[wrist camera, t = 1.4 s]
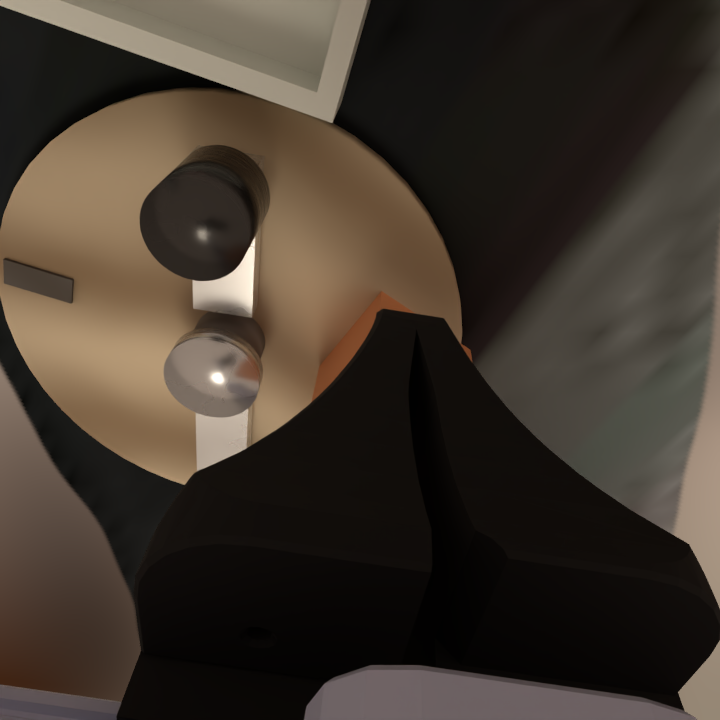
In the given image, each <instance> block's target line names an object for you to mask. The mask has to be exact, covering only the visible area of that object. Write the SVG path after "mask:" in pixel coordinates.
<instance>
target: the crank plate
mask: <svg viewBox="0 0 720 720" xmlns="http://www.w3.org/2000/svg"><path fill="white" fill-rule="evenodd" d="M198 145H200V146H209V145H225V146H229V147H232V148H235V149H237V150H239V151H241V152H243V153H249V154H256V155H262V156H265V157H264V175H265V177H266V180H267V182H268V186H269V190H270V206H269V210H268V213H267V215H266V217H265V219H264V221H263V223H262V225H261V241H260V263H259V284H258V305H257V307H256V309H255V312H254V314H253V316H252V318H250V317H244V316H237V315H231V314H224V313H218V312H212V311H205V310H199V309H193V281H192V280H190V279H186V278H183V277H181V276H178V275H176V274H174V273H173V272H171V271H169V270H168V269H166V268H165V267H164V266H162V265H161V264H160V263H159V262H158V261H157V260H156V259H155V258H154V256H153V255H152V254H151V252H150V251H149V250H148V248H147V246H146V244H145V242H144V240H143V237H142V234H141V230H140V211H141V207H142V204H143V202H144V200H145V198H146V197H147V195H148V194H149V193H150V192H151V191H152V190H153V189H154V188H155V187H156V186H157V185H158V184H159V183H160V182H161V181H162V180H163V179H164V178H165V177H166V176H167V175H168V174H170V173H171V172H172V171H173V170H174V169H175V168H176V167H177V166H178V165H179V164H180V163H181V162H182V161H183V160H184V159H185V158H186V157H188V156H189V155H190V153H191V152H192V151H193V150H194V149H195V148H196V147H197V146H198ZM381 291H382V292H384V293H385V294H387V295H388V296H390V297H391V298H393V299H394V300H396V301H397V302H399V303H400V304H402V305H404V306H405V307H407V308H408V309H410V310H411V311H413V312H414V313H416V314H421V315H428V316H434V317H441V318H444V319H445V320H446V322H447V323H448V325H449V326H450V328H451V330H452V331H453V333H454V335H455V336H456V338H457V339H458V341H459V343H461V340H462V318H461V303H460V296H459V290H458V285H457V281H456V276H455V272H454V267H453V264H452V261H451V258H450V256H449V253H448V250H447V248H446V245H445V242H444V240H443V237H442V235H441V234H440V232H439V230H438V228H437V226H436V224H435V223H434V221H433V219H432V217H431V215H430V213H429V212H428V210H427V209H426V207H425V206H424V205H423V203H422V202H421V200H420V199H419V198H418V196H417V195H416V194H415V192H414V191H413V190H412V188H411V187H410V186H409V184H408V183H407V182H406V181H405V180H404V179H403V178H402V177H401V176H400V175H399V174H398V173H397V172H396V171H395V170H394V169H393V168H392V167H391V166H390V165H389V164H388V163H387V162H386V160H385V159H384V158H382V157H381V156H380V155H378V154H377V153H376V152H375V151H373V150H372V149H371V148H370V147H368V146H367V145H366V144H364V143H363V142H362V141H361V140H359V139H358V138H357V137H356V136H354V135H352V134H351V133H349V132H347V131H346V130H344V129H342V128H341V127H339V126H337V125H336V124H334V123H330V122H328V121H325V120H322V119H319V118H316V117H313V116H311V115H308V114H305V113H302V112H299V111H296V110H294V109H291V108H288V107H285V106H282V105H280V104H277V103H274V102H271V101H268V100H265V99H263V98H260V97H257V96H254V95H251V94H248V93H246V92H243V91H239V90H232V89H224V88H217V87H200V88H175V89H168V90H161V91H155V92H148V93H144V94H141V95H138V96H135V97H131V98H128V99H125V100H122V101H119V102H116V103H113V104H111V105H109V106H107V107H105V108H104V109H102V110H100V111H98V112H96V113H94V114H92V115H90V116H88V117H86V118H84V119H82V120H80V121H78V122H76V123H75V124H73V125H72V126H71V127H69V128H68V129H67V130H65V131H64V132H63V133H61V134H60V135H59V136H57V137H56V138H55V139H53V140H52V141H51V142H49V144H48V145H47V146H46V147H45V148H44V149H43V150H42V151H41V152H40V153H39V154H38V155H37V156H36V158H35V159H34V160H33V161H32V162H31V163H30V164H29V166H28V167H27V169H26V170H25V172H24V173H23V175H22V177H21V178H20V180H19V181H18V183H17V184H16V186H15V188H14V190H13V192H12V195H11V197H10V200H9V202H8V205H7V207H6V210H5V212H4V215H3V220H2V224H1V229H0V297H1V301H2V305H3V309H4V313H5V317H6V320H7V323H8V325H9V328H10V330H11V333H12V335H13V338H14V340H15V343H16V345H17V347H18V349H19V351H20V353H21V354H22V356H23V358H24V360H25V362H26V363H27V365H28V367H29V369H30V370H31V372H32V373H33V374H34V376H35V377H36V379H37V380H38V382H39V383H40V384H41V386H42V387H43V389H44V390H45V391H46V392H47V393H48V395H49V396H50V397H51V398H52V399H53V400H54V401H55V403H56V404H57V405H58V406H59V407H60V408H61V409H62V411H64V412H65V413H66V414H67V415H68V416H69V417H70V418H71V419H72V420H73V421H74V422H75V423H76V424H77V425H78V426H80V427H81V428H82V429H83V430H84V431H86V432H87V433H88V434H89V435H91V436H92V437H93V438H95V439H96V440H97V441H99V442H100V443H101V444H102V445H104V446H106V447H107V448H109V449H110V450H112V451H113V452H115V453H116V454H118V455H120V456H121V457H123V458H124V459H126V460H128V461H130V462H132V463H134V464H136V465H138V466H140V467H142V468H143V469H145V470H147V471H150V472H152V473H155V474H157V475H159V476H162V477H164V478H167V479H169V480H171V481H175V482H178V483H181V484H184V485H185V484H186V483H187V481H188V480H189V479H190V477H191V476H192V475H193V474H194V473H195V472H196V471H197V452H196V412H193V411H191V410H190V409H188V408H186V407H185V406H183V405H182V404H181V403H179V402H178V401H177V400H176V399H175V398H174V396H173V395H172V394H171V393H170V391H169V389H168V388H167V385H166V383H165V380H164V374H163V373H164V364H165V361H166V359H167V357H168V356H169V354H170V352H171V350H172V349H173V347H174V345H175V344H176V342H177V341H178V340H179V339H180V338H181V337H182V336H183V335H184V334H186V333H188V332H190V331H192V330H195V329H199V328H219V329H223V330H227V331H230V332H232V333H234V334H236V335H238V336H240V337H241V338H243V339H244V340H246V341H247V342H248V343H249V344H250V345H251V346H252V347H253V348H254V349H255V351H256V352H257V354H258V355H259V357H260V359H261V362H262V366H263V379H262V382H261V385H260V388H259V391H258V394H257V397H256V399H255V401H254V402H253V411H252V432H251V445H252V444H254V443H256V442H257V441H259V440H261V439H262V438H264V437H265V436H267V435H269V434H270V433H272V432H274V431H275V430H277V429H278V428H280V427H281V426H282V425H284V424H285V423H286V422H288V421H289V420H290V419H292V418H293V417H294V416H295V415H297V414H298V413H299V412H300V411H302V410H303V409H304V408H305V407H307V406H308V405H309V404H310V403H311V402H312V397H313V393H314V388H315V384H316V379H317V375H318V370H319V366H320V365H321V363H322V362H323V361H324V360H325V359H326V357H327V356H328V355H329V354H330V353H331V351H332V350H333V349H334V348H335V347H336V345H337V344H338V343H339V342H340V341H341V339H342V338H343V337H344V336H345V335H346V333H347V332H348V331H349V330H350V329H351V327H352V326H353V325H354V324H355V323H356V321H357V320H358V319H359V318H360V316H361V315H362V314H363V313H364V312H365V310H366V309H367V308H368V307H369V306H370V304H371V303H372V302H373V301H374V300H375V298H376V297H377V296H378V295H379V294H380V292H381Z"/></svg>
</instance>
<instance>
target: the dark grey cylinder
mask: <svg viewBox="0 0 720 720" xmlns="http://www.w3.org/2000/svg"><path fill="white" fill-rule="evenodd" d="M264 157H265V156H262V155H256V154H249V153H243V152H241V151H239V150H237V149H235V148H232V147H229V146H225V145H209V146H200V145H198V146H197V147H196V148H195V149H194V150H193V151H192V152H191V153H190V155H189V156H188V157H186V158H185V159H184V160H183V161H182V162H181V163H180V164H179V165H178V166H177V167H176V168H175V169H174V170H173V171H172V172H171V173H170V174H168V175H167V176H166V177H165V178H164V179H163V180H162V181H161V182H160V183H159V184H158V185H157V186H156V187H155V188H154V189H153V190H152V191H151V192H150V193H149V194H148V195H147V197H146V198H145V200H144V202H143V204H142V207H141V211H140V230H141V234H142V237H143V240H144V242H145V244H146V246H147V248H148V250H149V251H150V252H151V254H152V255H153V256H154V258H155V259H156V260H157V261H158V262H159V263H160V264H161V265H162V266H164V267H165V268H166V269H168V270H169V271H171V272H173V273H174V274H176V275H178V276H181V277H183V278H186V279H190V280H192V281H193V309H199V310H205V311H212V312H218V313H224V314H231V315H237V316H244V317H250V318H252V316H253V314H254V312H255V309H256V307H257V305H258V284H259V263H260V241H261V225H262V223H263V221H264V219H265V217H266V215H267V213H268V210H269V206H270V190H269V186H268V182H267V180H266V177H265V175H264ZM163 374H164V380H165V383H166V385H167V388H168V389H169V391H170V393H171V394H172V395H173V396H174V398H175V399H176V400H177V401H178V402H179V403H181V404H182V405H183V406H185V407H186V408H188V409H190V410H191V411H193V412H196V452H197V471H198V470H201V469H203V468H206V467H208V466H210V465H213V464H215V463H217V462H219V461H221V460H224V459H226V458H228V457H230V456H232V455H234V454H237V453H239V452H241V451H242V450H244V449H246V448H248V447H249V446H251V432H252V411H253V402H254V401H255V399H256V397H257V394H258V391H259V388H260V385H261V382H262V379H263V366H262V362H261V359H260V357H259V355H258V354H257V352H256V351H255V349H254V348H253V347H252V346H251V345H250V344H249V343H248V342H247V341H246V340H244V339H243V338H241V337H240V336H238V335H236V334H234V333H232V332H230V331H227V330H223V329H219V328H199V329H195V330H192V331H190V332H188V333H186V334H184V335H183V336H182V337H181V338H180V339H179V340H178V341H177V342H176V344H175V345H174V347H173V349H172V350H171V352H170V354H169V356H168V357H167V359H166V361H165V364H164V373H163Z"/></svg>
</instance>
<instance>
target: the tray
mask: <svg viewBox="0 0 720 720" xmlns="http://www.w3.org/2000/svg"><path fill="white" fill-rule="evenodd" d="M370 1H371V0H0V6H3V7H6V8H9V9H11V10H14V11H17V12H20V13H23V14H26V15H28V16H31V17H34V18H37V19H40V20H42V21H45V22H48V23H51V24H54V25H57V26H59V27H62V28H65V29H68V30H71V31H73V32H76V33H79V34H82V35H85V36H88V37H90V38H93V39H96V40H99V41H102V42H105V43H107V44H110V45H113V46H116V47H119V48H121V49H124V50H127V51H130V52H133V53H136V54H138V55H141V56H144V57H147V58H150V59H153V60H155V61H158V62H161V63H164V64H167V65H169V66H172V67H175V68H178V69H181V70H184V71H186V72H189V73H192V74H195V75H198V76H201V77H203V78H206V79H209V80H212V81H215V82H217V83H220V84H223V85H226V86H229V87H232V88H234V89H237V90H240V91H243V92H246V93H248V94H251V95H254V96H257V97H260V98H263V99H265V100H268V101H271V102H274V103H277V104H280V105H282V106H285V107H288V108H291V109H294V110H296V111H299V112H302V113H305V114H308V115H311V116H313V117H316V118H319V119H322V120H325V121H328V122H330V123H333V121H334V118H335V116H336V114H337V112H338V109H339V107H340V105H341V102H342V99H343V96H344V92H345V89H346V85H347V82H348V78H349V75H350V71H351V68H352V64H353V61H354V57H355V54H356V50H357V47H358V43H359V40H360V36H361V33H362V29H363V26H364V22H365V19H366V15H367V12H368V8H369V5H370Z"/></svg>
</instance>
